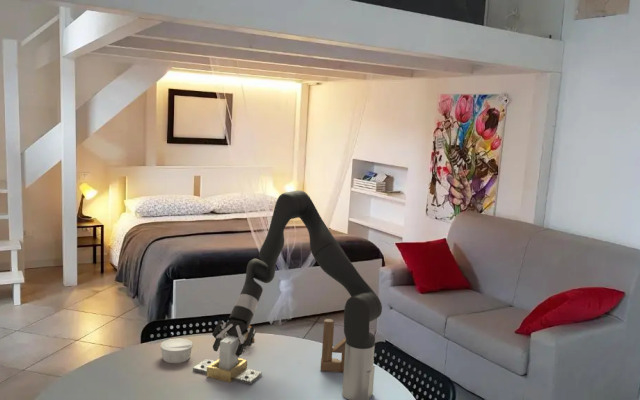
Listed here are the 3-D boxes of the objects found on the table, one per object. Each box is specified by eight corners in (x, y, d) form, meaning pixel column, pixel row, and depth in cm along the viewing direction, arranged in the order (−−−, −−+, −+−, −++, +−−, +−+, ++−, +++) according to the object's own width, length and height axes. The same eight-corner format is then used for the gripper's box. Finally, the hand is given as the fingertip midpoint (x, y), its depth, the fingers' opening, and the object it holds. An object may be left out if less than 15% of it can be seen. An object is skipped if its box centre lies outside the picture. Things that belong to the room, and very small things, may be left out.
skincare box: (227, 368, 188) (228, 334, 186) (238, 371, 186) (240, 337, 185) (217, 375, 182) (218, 340, 181) (229, 378, 181) (230, 343, 179)
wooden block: (351, 373, 190) (354, 323, 187) (320, 371, 190) (323, 321, 187) (350, 368, 193) (354, 320, 191) (320, 367, 193) (323, 318, 191)
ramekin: (175, 367, 186) (176, 353, 185) (153, 359, 192) (153, 344, 191) (198, 357, 196) (199, 343, 195) (176, 349, 201) (177, 335, 201)
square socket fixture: (263, 373, 185) (264, 363, 185) (248, 387, 175) (248, 376, 175) (208, 360, 193) (208, 351, 193) (190, 372, 183) (190, 362, 182)
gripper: (222, 301, 191) (203, 344, 182) (259, 308, 186) (241, 352, 177) (230, 311, 196) (211, 353, 187) (265, 318, 191) (248, 362, 182)
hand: (225, 353), depth 182 cm, fingers open, 8 cm apart
